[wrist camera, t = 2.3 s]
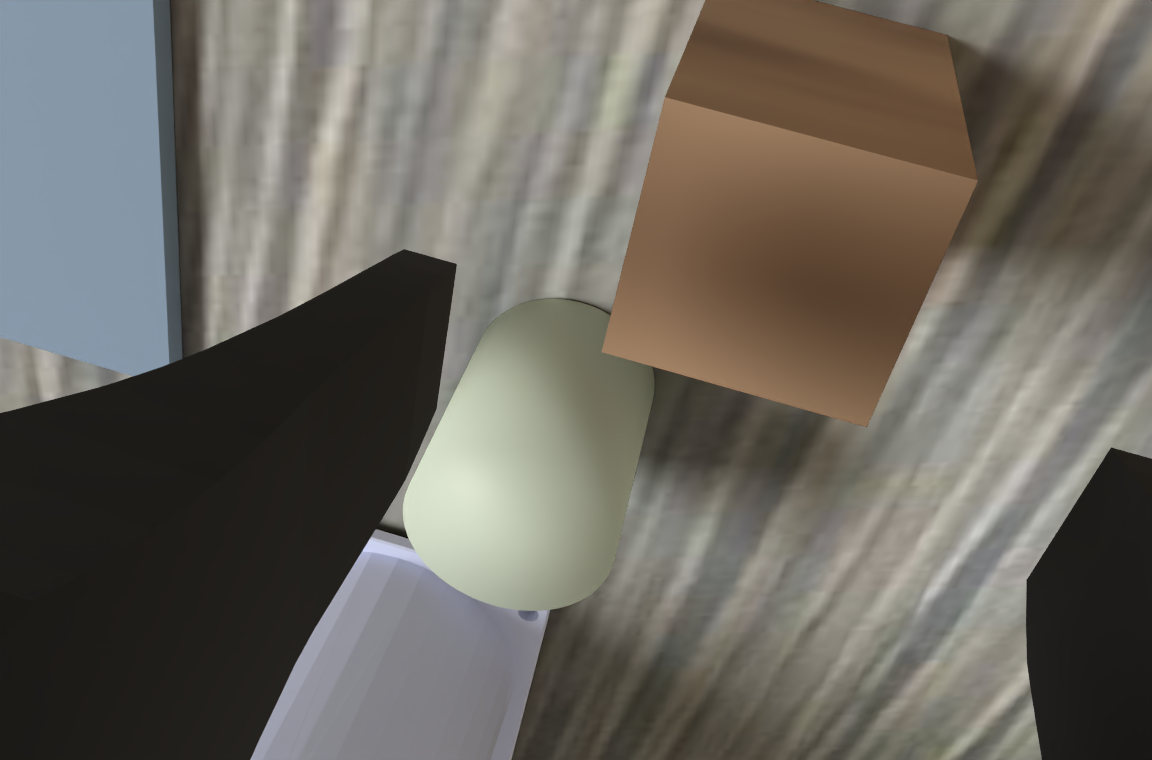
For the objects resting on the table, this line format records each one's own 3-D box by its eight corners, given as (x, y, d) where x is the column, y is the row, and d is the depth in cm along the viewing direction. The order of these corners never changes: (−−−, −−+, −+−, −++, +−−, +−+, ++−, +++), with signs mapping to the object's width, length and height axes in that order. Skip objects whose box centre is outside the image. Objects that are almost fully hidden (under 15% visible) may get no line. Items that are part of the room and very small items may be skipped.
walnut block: (865, 240, 21) (866, 426, 16) (661, 184, 21) (601, 352, 16) (947, 34, 18) (977, 180, 13) (716, -25, 18) (665, 97, 14)
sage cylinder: (634, 467, 25) (595, 632, 21) (467, 423, 25) (396, 579, 21) (672, 325, 22) (635, 482, 18) (486, 278, 23) (410, 424, 19)
